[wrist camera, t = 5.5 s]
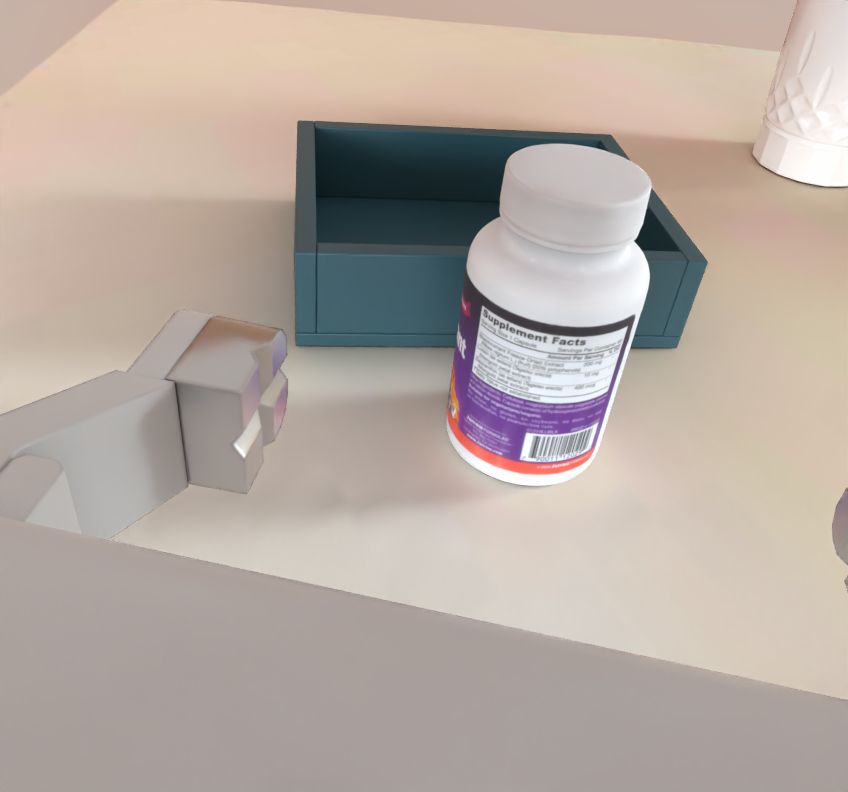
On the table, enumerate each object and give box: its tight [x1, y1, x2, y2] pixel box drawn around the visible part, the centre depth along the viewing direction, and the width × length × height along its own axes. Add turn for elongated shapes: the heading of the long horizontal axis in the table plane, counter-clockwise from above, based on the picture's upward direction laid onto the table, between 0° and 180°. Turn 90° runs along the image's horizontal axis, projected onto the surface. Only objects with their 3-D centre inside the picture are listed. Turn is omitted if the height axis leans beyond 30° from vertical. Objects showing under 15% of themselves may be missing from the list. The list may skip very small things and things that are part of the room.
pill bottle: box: [446, 144, 651, 486], centre depth 24 cm, size 5×5×10 cm
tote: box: [294, 121, 708, 348], centre depth 35 cm, size 16×13×4 cm
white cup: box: [752, 0, 848, 186], centre depth 47 cm, size 8×8×10 cm
